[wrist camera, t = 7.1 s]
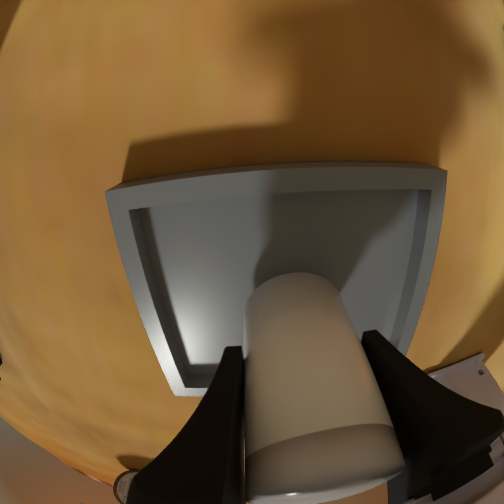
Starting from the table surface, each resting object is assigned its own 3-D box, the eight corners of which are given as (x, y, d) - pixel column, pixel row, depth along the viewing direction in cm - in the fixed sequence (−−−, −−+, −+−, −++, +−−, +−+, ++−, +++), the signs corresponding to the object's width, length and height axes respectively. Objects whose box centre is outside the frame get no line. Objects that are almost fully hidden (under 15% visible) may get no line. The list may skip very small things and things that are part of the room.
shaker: (346, 267, 12) (433, 445, 4) (335, 342, 15) (378, 488, 7) (238, 276, 13) (236, 486, 5) (247, 351, 15) (252, 509, 7)
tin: (122, 469, 31) (113, 508, 24) (116, 463, 30) (106, 504, 22) (210, 483, 32) (208, 526, 24) (208, 479, 30) (206, 524, 23)
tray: (427, 164, 12) (447, 170, 11) (390, 354, 18) (399, 371, 17) (120, 182, 12) (104, 191, 11) (178, 376, 18) (174, 395, 17)
